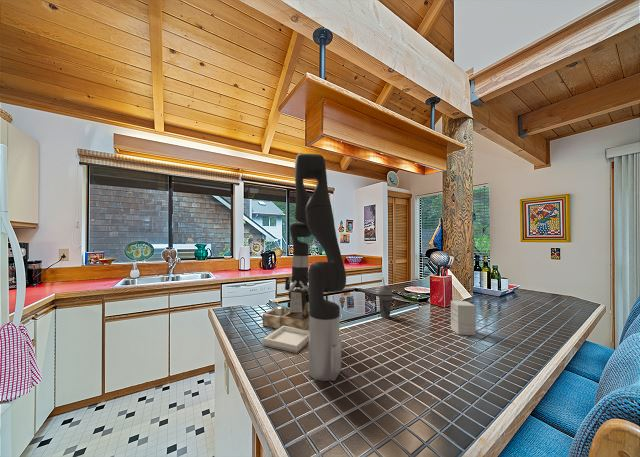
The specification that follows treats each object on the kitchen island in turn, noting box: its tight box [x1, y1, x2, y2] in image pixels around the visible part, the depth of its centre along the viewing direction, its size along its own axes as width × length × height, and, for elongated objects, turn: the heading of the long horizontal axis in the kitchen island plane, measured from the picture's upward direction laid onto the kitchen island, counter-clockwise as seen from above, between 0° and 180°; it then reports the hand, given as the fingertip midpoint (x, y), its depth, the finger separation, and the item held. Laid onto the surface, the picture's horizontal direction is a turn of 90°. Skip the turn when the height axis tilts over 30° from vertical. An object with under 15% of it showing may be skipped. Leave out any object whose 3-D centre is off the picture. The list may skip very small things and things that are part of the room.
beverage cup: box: [377, 277, 393, 319], centre depth 124 cm, size 7×7×20 cm
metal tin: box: [274, 305, 287, 316], centre depth 114 cm, size 5×5×7 cm
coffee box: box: [289, 287, 309, 320], centre depth 110 cm, size 9×6×16 cm
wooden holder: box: [262, 306, 310, 330], centre depth 112 cm, size 21×14×5 cm, turn 67°
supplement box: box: [450, 300, 477, 336], centre depth 107 cm, size 7×7×13 cm
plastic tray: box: [262, 326, 309, 354], centre depth 93 cm, size 14×14×2 cm
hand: (299, 300), depth 110 cm, fingers open, 8 cm apart
